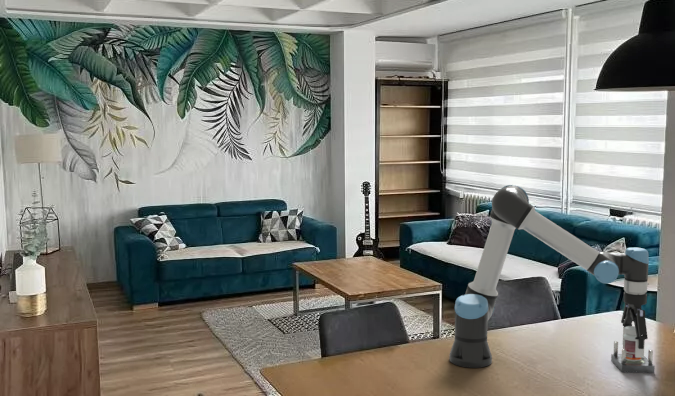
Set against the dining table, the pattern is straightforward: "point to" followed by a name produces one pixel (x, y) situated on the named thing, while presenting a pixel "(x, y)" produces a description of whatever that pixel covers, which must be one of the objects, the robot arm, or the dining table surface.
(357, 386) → the dining table surface
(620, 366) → the chassis
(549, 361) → the dining table surface
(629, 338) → the pill bottle
